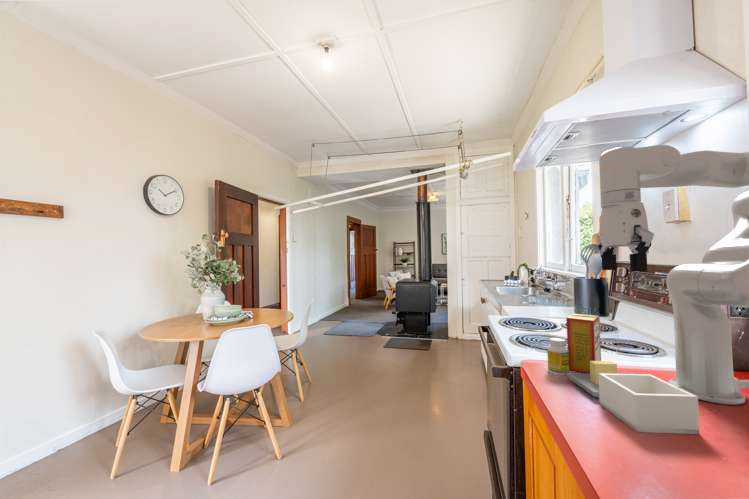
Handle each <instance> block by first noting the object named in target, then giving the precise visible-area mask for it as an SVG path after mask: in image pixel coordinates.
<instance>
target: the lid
mask: <svg viewBox="0 0 749 499" xmlns="http://www.w3.org/2000/svg"><path fill="white" fill-rule="evenodd" d="M617 368H618V364H617V363H615V362H613V361H611V360H601V361H590V374H581V373H577V372H571V373H570V372H569V373H567V375H566V377H567V379H569V380H570V381H572V382H573V383H575V384H576V385H577V386H579V387H580V388H582V389H583V390H584V391H586V392H587V393H588V394H590V395H591V396H592V397H594V398H596V399H599V373H609V374H618V369H617Z"/></svg>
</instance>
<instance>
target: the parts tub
mask: <svg viewBox="0 0 749 499" xmlns="http://www.w3.org/2000/svg"><path fill="white" fill-rule="evenodd" d="M598 400H599V405H600V406H602V407H603V408H604V409H606V410H607V411H608V412H610V414H612V415H613V416H615V417H616V418H617V419H619V420H621V422H623V423H624V424H626V425H627V426H628V427H630V428H631V429H632V430H634V431H635V432H636V433H658V434H659V433H660V434H663V433H664V434H680V435H681V434H683V435H684V434H686V435H688V434H689V435H700V434H701V433H700V415H699V399H698V397H697V396H695V395H693V394H691V393H689V392H687V391H685V390H683V389H680V388H678V387H676V386H674V385H672V384H670V383H668V381H665V380H663V379H661V378H659V377H657V376H655V375H653V374H651V373H650V374H648V373H642V374H641V373H617V374H609V373H599V398H598Z"/></svg>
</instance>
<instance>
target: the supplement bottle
mask: <svg viewBox="0 0 749 499" xmlns="http://www.w3.org/2000/svg"><path fill="white" fill-rule="evenodd" d="M566 343H567V342H566V339H564V338H561V337H549V345H548V346H547V350H546V352H547V371H548V372H549V373H551V374H552V375H553V374H554V375H557V376H567V373H570V371H569V351H568V346H566Z"/></svg>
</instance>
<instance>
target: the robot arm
mask: <svg viewBox="0 0 749 499" xmlns="http://www.w3.org/2000/svg"><path fill="white" fill-rule="evenodd" d="M598 161H599V164H598V165H599V187H600V189H599V190H600V208H601V211H600V222H599V223H600V225H599V227H600V228H599V233H600V235H599V236H597V237H596V243H597V248H598V250H599V254H600V256H601V270H603V271H616V270H617V268H618V267H617V253H616V250H617V248H618V247H627V248H628V249H629V250H630V252H631V253H629V269H630V270H629V271H630V272H633V273H636V272H637V273H640V272H641V273H642V272H643V273H644V272H645V273H646V272H648V254H649V252H650V250H649V249H650V248H651V247H652V242H653V239H654V235H655V234H654V232H652V231H650V230H649V223H648V216H647V212H646V209H645V204H644V203H643V202H642V197H641V194H642V193H641V189H655V188H676V187H680V188H681V187H691V186H693V187H694V186H695V187H697V186H699V187H714V188H728V189H729V188H730V189H732V188H733V189H734V188H735V189H737V188H738V189H739V188H746V187H749V151H746V152H730V151H729V152H728V151H718V150H716V151H715V150H697V151H693V152H687V153H683V154H681V152H680V151H679V150H678V149H677V148H676V147H674V146H672V145H669V144H655V145H650V146H642V147H634V146H619V147H615V148H612V149H608V150H606V151H604V152H603V153H601V155H600V156H599V160H598ZM731 213H732V218H733V219H732V220H733V227H734V228H733V230H731V231H730V232H729V233H728V234H727V235H726V236H724V237H723V238H722V239H720V240H719V241H718V242H716V243H714V245H712V246H711V247H710V248H709V249H708V250H706V252H705V253H704V254H703V256H702V260H701V263H697V262H696V263H686V264H685V263H684V264H681V265H677V266H675V267H673V268H672V269H671V270H670V271H669V272H668V273H667V275H666V287H667V291H668V293H669V297H670V301H671V305H672V313H673V330H674V331H673V332H674V352H675V353H674V354H675V355H674V356H675V371H676V372H675V374H676V377H675V378H674V377H673V378H670V379H669V380H668V381H667V382H668V383H670V384H672V385H674V386H676V387H678V388H680V389H683V390H685V391H687V392H689V393H691V394H693V395H695V396H697V397H698V400H701V401H705V402H710V403H714V404H715V403H716V404H719V405H720V404H721V405H731V406H732V405H737V406H738V405H742V404H745V403H746V396H745V395H744V394H743V393H741V392H740V390H743V389H749V379H739V378H737V377H735V376H734V364H733V358H734V357H733V342H732V324H731V321H730V319H729V316H728V315H727V313H726V311H725V310H724V309H723V308H722V306H727V307H735V308H736V307H737V308H748V309H749V190H748V191H745V192H743V193H741V194H739V195H738V196H737V197H736V198H735V199H734V200H733V201H732V205H731Z"/></svg>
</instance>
